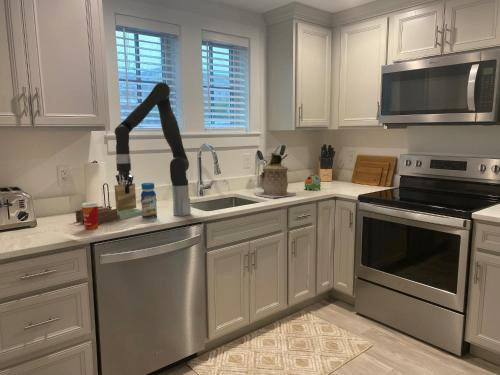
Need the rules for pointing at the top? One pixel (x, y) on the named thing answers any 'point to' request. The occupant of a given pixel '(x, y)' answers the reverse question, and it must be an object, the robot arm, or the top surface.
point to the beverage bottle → (148, 201)
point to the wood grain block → (125, 197)
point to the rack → (99, 216)
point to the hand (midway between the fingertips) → (125, 193)
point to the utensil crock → (274, 179)
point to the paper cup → (90, 215)
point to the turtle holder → (312, 182)
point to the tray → (129, 213)
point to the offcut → (102, 209)
